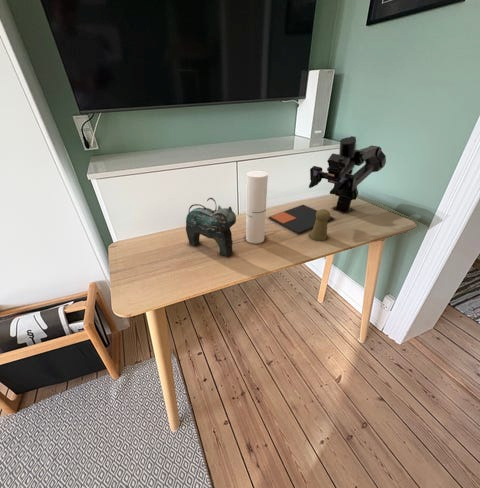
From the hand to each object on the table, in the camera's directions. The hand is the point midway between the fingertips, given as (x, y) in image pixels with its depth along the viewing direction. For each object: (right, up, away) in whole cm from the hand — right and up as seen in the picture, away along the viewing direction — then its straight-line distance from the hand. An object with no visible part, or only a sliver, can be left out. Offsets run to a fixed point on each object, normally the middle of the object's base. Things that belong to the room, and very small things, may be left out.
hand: (319, 189), depth 98 cm
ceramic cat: (-41, -23, -3) cm, 48 cm away
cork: (+1, -18, +3) cm, 18 cm away
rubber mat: (-3, -8, +16) cm, 18 cm away
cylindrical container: (-25, -19, +3) cm, 31 cm away
